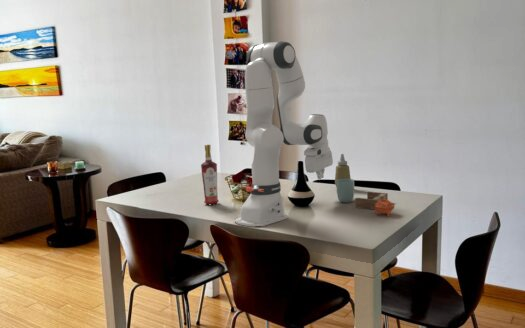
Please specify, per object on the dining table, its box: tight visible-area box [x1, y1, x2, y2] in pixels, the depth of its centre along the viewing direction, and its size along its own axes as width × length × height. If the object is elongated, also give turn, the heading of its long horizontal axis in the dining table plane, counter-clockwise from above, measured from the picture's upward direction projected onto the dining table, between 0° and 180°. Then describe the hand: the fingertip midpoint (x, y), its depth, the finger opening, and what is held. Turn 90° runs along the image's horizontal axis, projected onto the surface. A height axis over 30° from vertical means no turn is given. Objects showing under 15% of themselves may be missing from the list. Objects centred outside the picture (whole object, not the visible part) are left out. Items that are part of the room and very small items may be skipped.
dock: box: [354, 191, 389, 210], centre depth 216 cm, size 14×9×4 cm, turn 145°
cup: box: [336, 178, 355, 204], centre depth 223 cm, size 8×8×10 cm
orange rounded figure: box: [374, 199, 395, 217], centre depth 200 cm, size 8×8×7 cm
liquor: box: [200, 144, 220, 205], centre depth 229 cm, size 7×7×28 cm
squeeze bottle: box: [334, 153, 352, 189], centre depth 247 cm, size 8×8×18 cm
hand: (320, 178), depth 230 cm, fingers closed
